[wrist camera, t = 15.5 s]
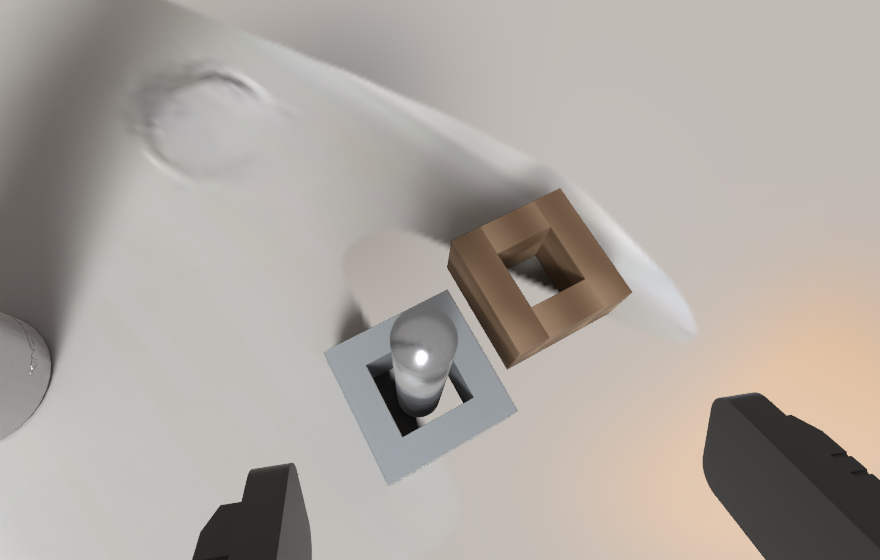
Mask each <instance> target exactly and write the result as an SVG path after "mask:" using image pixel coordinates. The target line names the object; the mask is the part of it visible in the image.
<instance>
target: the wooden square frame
mask: <svg viewBox="0 0 880 560" xmlns="http://www.w3.org/2000/svg"><path fill="white" fill-rule="evenodd" d="M535 255H536V257H537V258H538V260H539V261H540V263H541V264H542V266H543V267H544V269H545V270H546V272H547V273H548V275H549V277H550V278H551V280H552V281H553V283H554V284H555V286H556V287H557V289H558V290H559V292H560V293H558V294H556V295H554V296H552V297H551V298H549V299H547V300H545V301H543V302H541V303H539V304H537V305H536V306H533V307H532V308H531V307H530V305H529V304H528V302H527V300H526V299H525V297H524V296H523V294H522V293H521V291H520V289H519V288H518V286H517V284H516V283H515V281H514V280H513V278H512V276H511V275H510V273H509V272H508V270H507V269H509V268H511V267H513V266H515V265H517V264H519V263H521V262H523V261H525V260H527V259H529V258H531V257H533V256H535ZM447 268H448V270H449V272H450V273H451V275H452V277H453V278H454V280H455V281H456V283H457V285H458V287H459V289H460V290H461V292H462V294H463V295H464V297H465V298H466V300H467V302H468V304H469V306H470V307H471V309H472V311H473V312H474V314H475V315H476V317H477V319H478V321H479V322H480V324H481V326H482V327H483V329H484V331H485V333H486V334H487V336H488V338H489V340H490V341H491V343H492V344H493V346H494V348H495V349H496V351H497V353H498V355H499V356H500V358H501V360H502V362H503V363H504V365H505V367H506V368H507V369H508V368H510V367H512V366H514V365H516V364H518V363H520V362H521V361H523V360H525V359H527V358H529V357H530V356H532V355H534V354H536V353H538V352H539V351H541V350H543V349H545V348H547V347H549V346H550V345H552V344H554V343H556V342H558V341H559V340H561V339H563V338H565V337H567V336H568V335H570V334H572V333H574V332H576V331H578V330H579V329H581V328H583V327H585V326H586V325H588V324H590V323H592V322H594V321H595V320H598V319H599V318H601V317H603V316H605V315H607V314H608V313H609V312H610V311H611V310H613V309H614V308H615V307H616V306H617V305H618V304H619V303H621V302H622V301H623V300H624V299H625V298H626V297H627V296H629V295H630V294H631V293H632V291H631V290H630V288H629V287H628V285H627V284H626V283H625V281H624V280H623V278H622V277H621V275H620V274H619V272H618V271H617V270H616V268H615V267H614V265H613V264H612V262H611V261H610V259H609V258H608V257H607V255H606V254H605V252H604V251H603V249H602V248H601V247H600V245H599V244H598V242H597V241H596V239H595V238H594V236H593V235H592V234H591V232H590V231H589V229H588V228H587V226H586V225H585V223H584V222H583V221H582V219H581V218H580V216H579V215H578V213H577V212H576V211H575V209H574V208H573V206H572V205H571V203H570V202H569V200H568V199H567V198H566V196H565V195H564V193H563V192H562V190H561V189H558V190H556V191H554V192H551V193H549V194H547V195H545V196H543V197H541V198H539V199H537V200H535V201H533V202H531V203H529V204H527V205H524V206H522V207H520V208H518V209H516V210H514V211H512V212H510V213H508V214H506V215H504V216H502V217H500V218H498V219H495V220H493V221H491V222H489V223H487V224H485V225H483V226H481V227H479V228H477V229H475V230H473V231H471V232H468V233H466V234H464V235H462V236H460V237H458V238H456V239H454V240H452V242H451V248H450V254H449V260H448V265H447Z"/></svg>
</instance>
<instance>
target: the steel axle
mask: <svg viewBox="0 0 880 560" xmlns="http://www.w3.org/2000/svg"><path fill="white" fill-rule="evenodd" d="M457 346H458V333H457V329H456V327H455V325H454V323H453V321H452V320H451V319H450V317H449V316H448V315H446V314H445V313H444V312H442V311H441V310H439V309H436V308H434V307H429V306H419V307H414V308H411V309H409V310H407V311H405V312H404V313H402V314H401V315H400V316H399V317H398V318H397V320H396V321H395V323H394V324H393V326H392V329H391V333H390V347H391V354H392V361H393V369H394V376H395V383H396V391H397V398H398V403H399V405H400V407H401V408H402V410H403V411H404V412H405V413H407V414H408V415H410V416H413V417H424V416H427V415H429V414H430V413H432V412H433V411H434V410H435V408H436V407H437V405H438V402H439V400H440V397H441V394H442V391H443V388H444V385H445V382H446V379H447V376H448V373H449V370H450V367H451V364H452V362H453V359H454V356H455V353H456V350H457Z"/></svg>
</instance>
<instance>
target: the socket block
mask: <svg viewBox="0 0 880 560" xmlns="http://www.w3.org/2000/svg"><path fill="white" fill-rule="evenodd" d="M419 306H429V307H434V308H436V309H439V310H441V311H442V312H444V313H445V314H446V315H448V316H449V317H450V319H451V320H452V321H453V323H454V325H455V327H456V329H457V333H458V346H457V350H456V353H455V356H454V359H453V362H452V364H451V367H450V370H449V373H448V376H449V378H450V380H451V382H452V383H453V385H454V387H455V389H456V391H457V392H458V394H459V396H460V398H461V400H462V401H463V404H462V405H460V406H458V407H457V408H455V409H453V410H451V411H449V412H447V413H446V414H444V415H442V416H440V417H438V418H437V419H435V420H433V421H431V422H429V423H428V424H426V425H424V426H422V427H420V428H419V429H417V430H415V431H413V432H411V433H410V434H408V435H406V436H404V437H402V435H401V433H400V431H399V429H398V428H397V426H396V424H395V422H394V420H393V418H392V416H391V414H390V412H389V410H388V408H387V406H386V404H385V402H384V400H383V398H382V396H381V394H380V392H379V390H378V388H377V386H376V384H375V382H374V380H373V378H375V377H377V376H379V375H381V374H383V373H384V372H386V371H388V370H390V369H392V368H393V361H392V354H391V347H390V333H391V329H392V326H393V324H394V323H395V321H396V320H397V318H398V317H399V316H400V315H401V314H402V313H404V312H405V311H404V312H402V313H400V314H398V315H396V316H394V317H392V318H390V319H388V320H386V321H384V322H382V323H380V324H378V325H376V326H374V327H372V328H370V329H368V330H366V331H364V332H362V333H360V334H358V335H356V336H354V337H352V338H350V339H348V340H346V341H344V342H342V343H340V344H338V345H336V346H334V347H332V348H330V349H328V350H326V351H324V352H323V353H324V355H325V357H326V359H327V361H328V363H329V365H330V367H331V369H332V371H333V373H334V376H335V378H336V380H337V382H338V384H339V386H340V388H341V390H342V392H343V394H344V396H345V398H346V400H347V402H348V404H349V406H350V409H351V411H352V413H353V415H354V417H355V419H356V421H357V423H358V425H359V427H360V429H361V431H362V433H363V435H364V437H365V439H366V441H367V444H368V446H369V448H370V450H371V452H372V454H373V456H374V458H375V460H376V462H377V464H378V466H379V468H380V470H381V472H382V474H383V476H384V479H385V481H386V483H387V485H388V486H391V485H393V484H395V483H396V482H398V481H400V480H402V479H403V478H405V477H407V476H408V475H410V474H412V473H414V472H415V471H417V470H419V469H421V468H422V467H424V466H426V465H428V464H429V463H431V462H433V461H435V460H436V459H438V458H440V457H442V456H443V455H445V454H447V453H449V452H450V451H452V450H454V449H455V448H457V447H459V446H461V445H462V444H464V443H466V442H468V441H469V440H471V439H473V438H475V437H476V436H478V435H480V434H482V433H483V432H485V431H487V430H489V429H490V428H492V427H494V426H495V425H497V424H499V423H501V422H502V421H504V420H506V419H507V418H509V417H510V416H511V415H513V414H514V413H516V412H517V411H518V410H517V408H516V407H515V405H514V403H513V401H512V400H511V398H510V396H509V395H508V393H507V391H506V389H505V388H504V386H503V385H502V383H501V381H500V379H499V377H498V376H497V374H496V372H495V370H494V369H493V367H492V365H491V364H490V362H489V360H488V358H487V357H486V355H485V353H484V352H483V350H482V348H481V346H480V345H479V343H478V341H477V340H476V338H475V336H474V334H473V333H472V331H471V329H470V327H469V326H468V324H467V322H466V321H465V319H464V317H463V315H462V314H461V312H460V310H459V309H458V307H457V305H456V303H455V302H454V300H453V298H452V296H451V295H450V293H449V292H448V290H446V291H444V292H442V293H440V294H438V295H436V296H434V297H432V298H430V299H428V300H426V301H424V302H422V303H420V304H418V305H416V306H414V307H419ZM414 307H412V308H414ZM410 309H411V308H410ZM408 310H409V309H408ZM406 311H407V310H406Z"/></svg>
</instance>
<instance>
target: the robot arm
mask: <svg viewBox="0 0 880 560" xmlns="http://www.w3.org/2000/svg"><path fill="white" fill-rule="evenodd" d="M50 373H51V359H50V354H49V349H48V347H47V345H46V343H45V341H44V339H43V337H42V336H41V335H40V334H39V333H38V332H37V330H36V329H34V328H33V327H31V326H30V325H28V324H27V323H25V322H23V321H21V320H19V319H16V318H14V317H12V316H9V315H7V314H5V313H2V312H0V440H1V439H3V438H5V437H6V436H8V435H9V434H11V433H12V432H14V431H15V430H17V429H18V428H19V427H20V426H21V425H22V424H23V423H24V422H25V421H26V420H27V419H28V418H29V417H30V416H31V415H32V413H33V412H34V411H35V409H36V408H37V407H38V405H39V404H40V402H41V400H42V398H43V396H44V394H45V392H46V390H47V386H48V383H49V379H50ZM703 470H704V474H705V477H706V480H707V482H708V484H709V486H710V488H711V490H712V491H713V493H714V494H715V496H716V497H717V498H718V499H719V501H720V502H721V503H722V504H723V506H724V507H725V508H726V510H727V511H728V512H729V513H730V515H731V516H732V517H733V519H734V520H735V521H736V522H737V524H738V525H739V526H740V527H741V529H742V530H743V531H744V533H745V534H746V535H747V536H748V538H749V539H750V540H751V541H752V543H753V544H754V545H755V547H756V548H757V549H758V551H759V552H760V553H761V554H762V556H763V557H764V558H765V559H766V560H880V480H879V479H877V477H875V476H874V475H873V474H868V472H867V469H866V468H865V467H864V466H863V465H861V464H860V463H859V462H858V461H857V460H856V459H854V458H853V457H852V456H848V455H847V452H846V451H845V450H844V449H842V448H841V447H840V446H839V445H838V444H837V443H836V442H834V441H833V440H832V439H831V438H830V437H829V436H827V435H826V434H825V433H824V432H823V431H821V430H819V429H817V428H815V427H813V426H812V425H810V424H807V423H806V422H804V421H802V420H800V419H798V418H796V417H794V416H792V415H788V416H786V415H785V414H784V413H783V412H782V411H780V410H779V409H778V408H777V407H776V406H775V405H774V404H773V403H772V402H770V401H769V400H768V399H767V398H766V397H765V396H763V395H761V394H759V393H748V394H742V395H735V396H729V397H722V398H718V399H716V400H715V401H714V402H713V404H712V407H711V413H710V418H709V424H708V430H707V436H706V442H705V448H704V454H703ZM311 559H312V547H311V533H310V526H309V521H308V516H307V512H306V508H305V504H304V499H303V495H302V491H301V487H300V483H299V478H298V474H297V470H296V467H295V465H294V464H293V463H289V464H283V465H276V466H270V467H263V468H257V469H251V470H250V471H249V474H248V477H247V481H246V485H245V489H244V494H243V498H242V502H238V503H232V504H226V505H220V507H219V508H218V509H217V511H216V512H215V513H214V515H213V516H212V517H211V519H210V520H209V522H208V523H207V524H206V526H205V527H204V528H203V530H202V531H201V532H200V536H199V539H198V542H197V546H196V549H195V552H194V556H193V559H192V560H311Z"/></svg>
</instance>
